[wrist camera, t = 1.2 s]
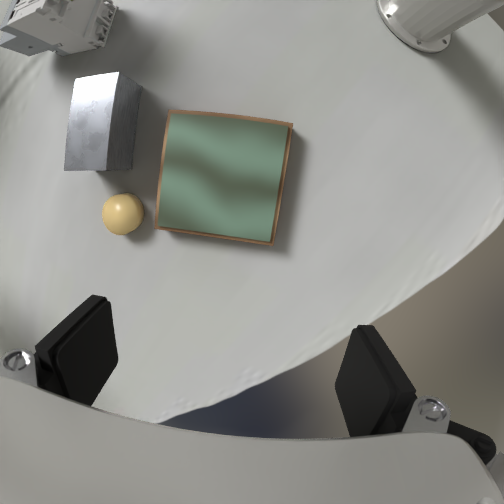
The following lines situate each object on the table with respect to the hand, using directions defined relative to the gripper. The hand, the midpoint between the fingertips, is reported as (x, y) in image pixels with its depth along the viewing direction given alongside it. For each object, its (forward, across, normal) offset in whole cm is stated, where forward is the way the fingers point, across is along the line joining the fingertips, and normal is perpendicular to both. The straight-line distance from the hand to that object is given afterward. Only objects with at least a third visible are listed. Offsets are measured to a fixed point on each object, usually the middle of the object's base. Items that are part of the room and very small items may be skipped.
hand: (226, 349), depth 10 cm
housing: (+26, +18, -11) cm, 34 cm away
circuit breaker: (+26, +30, -28) cm, 48 cm away
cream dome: (+26, +16, 0) cm, 30 cm away
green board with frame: (+26, +3, -6) cm, 27 cm away
